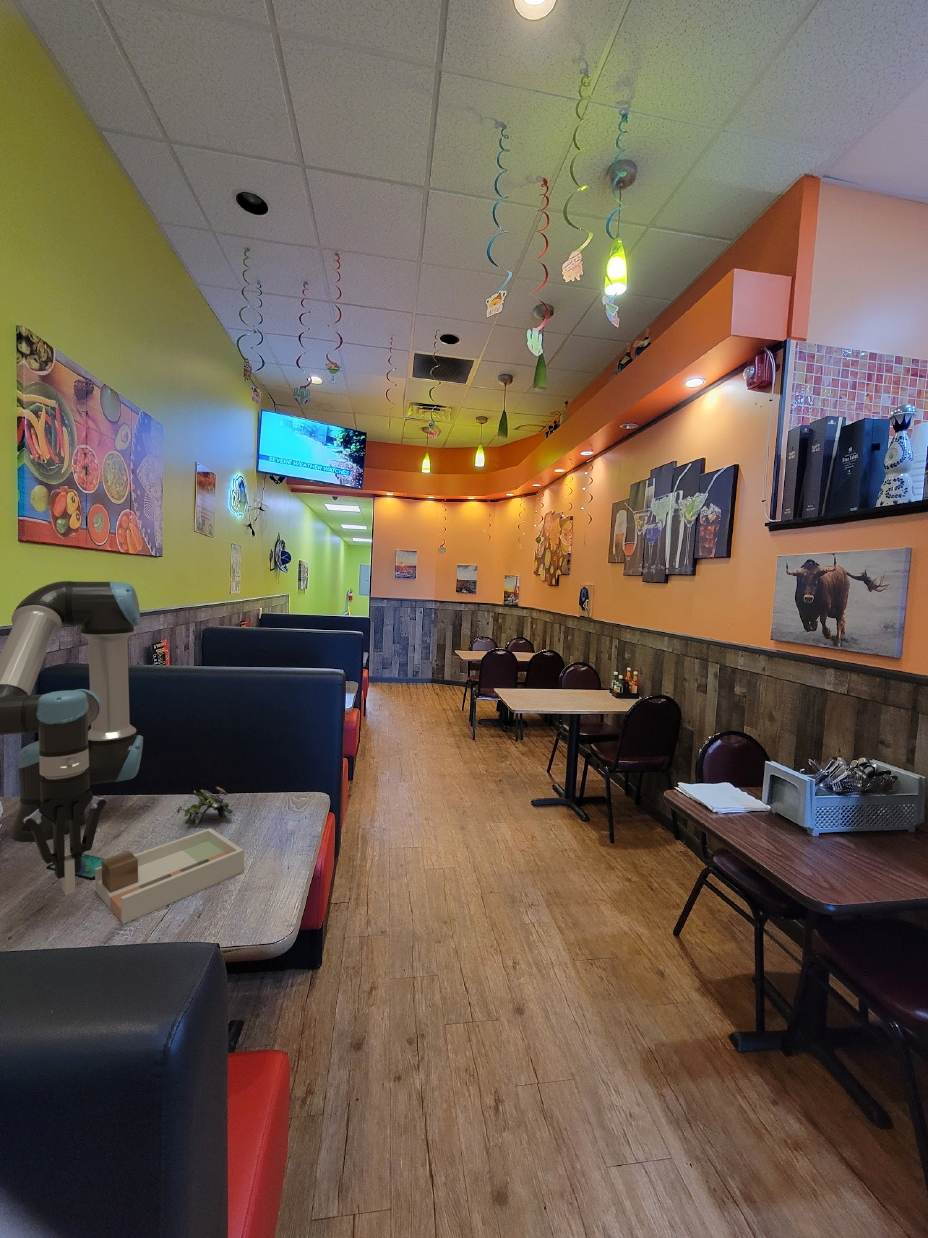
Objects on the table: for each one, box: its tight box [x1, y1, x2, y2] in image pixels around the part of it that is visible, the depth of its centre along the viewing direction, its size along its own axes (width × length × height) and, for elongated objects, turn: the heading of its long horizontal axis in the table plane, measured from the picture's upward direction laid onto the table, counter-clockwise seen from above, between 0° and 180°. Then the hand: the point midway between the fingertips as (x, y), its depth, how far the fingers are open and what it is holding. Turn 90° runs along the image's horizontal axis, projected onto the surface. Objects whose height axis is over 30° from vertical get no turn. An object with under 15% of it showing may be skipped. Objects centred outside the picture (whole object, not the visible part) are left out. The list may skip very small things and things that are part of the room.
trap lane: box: [94, 827, 245, 925], centre depth 113 cm, size 16×24×5 cm, turn 141°
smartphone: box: [45, 853, 105, 881], centre depth 118 cm, size 7×1×15 cm
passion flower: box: [177, 786, 233, 829], centre depth 140 cm, size 11×11×12 cm
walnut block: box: [102, 850, 138, 893], centre depth 107 cm, size 5×5×5 cm
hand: (68, 890), depth 101 cm, fingers closed
